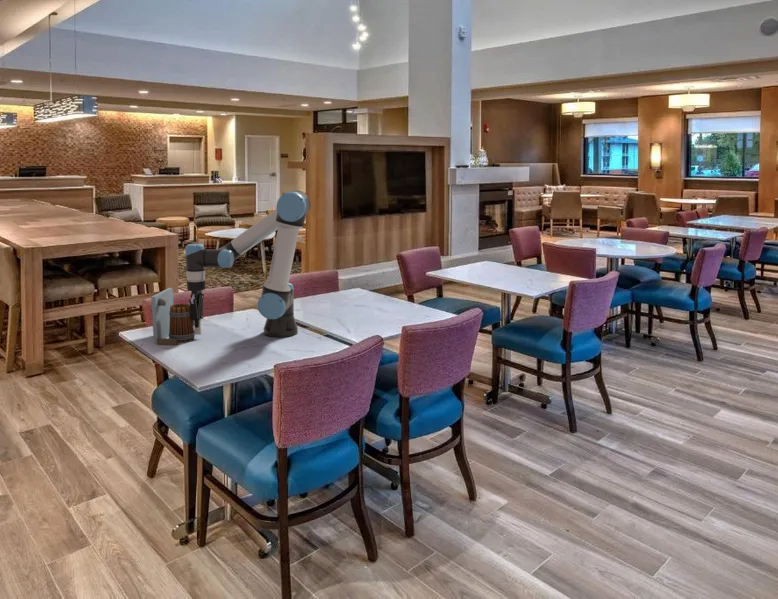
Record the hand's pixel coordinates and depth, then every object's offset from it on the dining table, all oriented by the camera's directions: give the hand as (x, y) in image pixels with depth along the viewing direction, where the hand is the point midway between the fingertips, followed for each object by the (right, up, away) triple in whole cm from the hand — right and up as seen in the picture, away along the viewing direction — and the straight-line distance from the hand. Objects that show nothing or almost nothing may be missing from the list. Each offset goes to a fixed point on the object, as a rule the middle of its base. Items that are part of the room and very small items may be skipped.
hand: (198, 334), depth 271 cm
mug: (-5, -2, +1) cm, 6 cm away
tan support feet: (-10, -2, +1) cm, 10 cm away
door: (-13, -1, +1) cm, 14 cm away
